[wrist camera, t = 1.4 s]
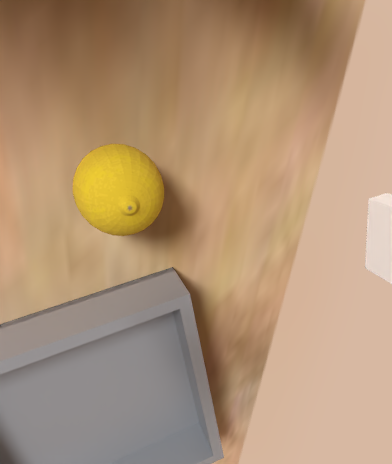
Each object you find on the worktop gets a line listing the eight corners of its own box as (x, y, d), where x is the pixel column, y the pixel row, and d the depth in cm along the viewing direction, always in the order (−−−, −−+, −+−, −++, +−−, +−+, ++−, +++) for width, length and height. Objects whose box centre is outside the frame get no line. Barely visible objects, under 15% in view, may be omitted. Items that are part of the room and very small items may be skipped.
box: (17, 507, 34) (11, 562, 30) (-89, 353, 25) (-116, 402, 21) (207, 420, 39) (224, 457, 35) (172, 267, 30) (189, 293, 26)
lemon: (69, 135, 24) (73, 154, 17) (149, 139, 26) (183, 157, 19) (72, 212, 26) (77, 258, 19) (146, 211, 28) (176, 252, 21)
